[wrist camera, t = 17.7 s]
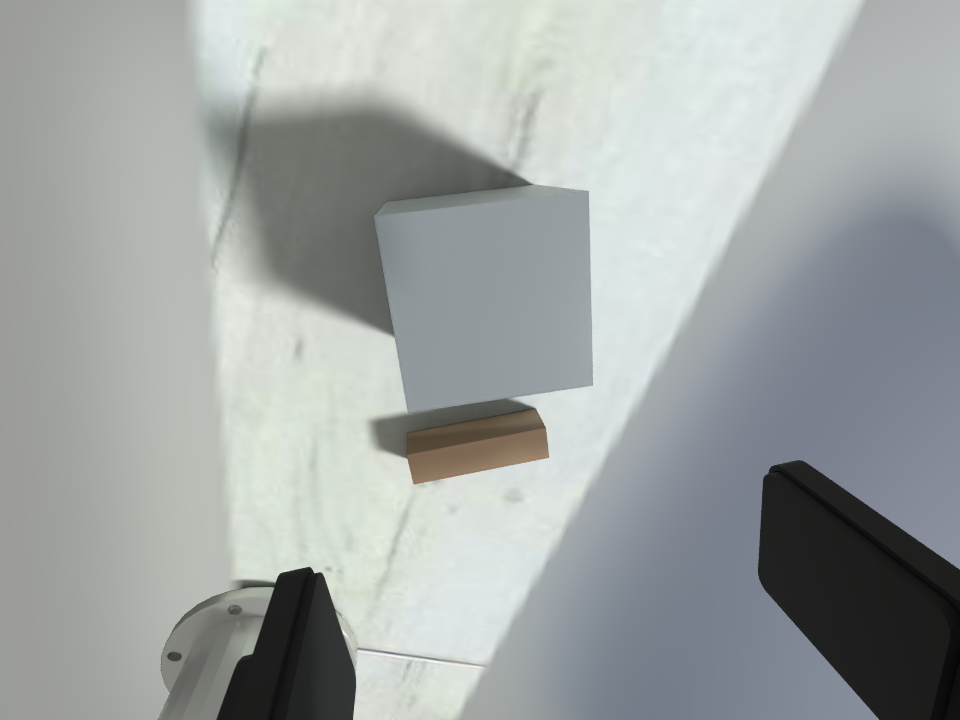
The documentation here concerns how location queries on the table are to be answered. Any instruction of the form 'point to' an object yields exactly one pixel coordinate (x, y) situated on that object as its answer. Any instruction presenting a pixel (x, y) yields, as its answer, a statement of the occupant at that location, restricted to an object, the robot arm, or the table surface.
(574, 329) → the matte grey cube
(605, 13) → the table surface
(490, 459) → the strip
